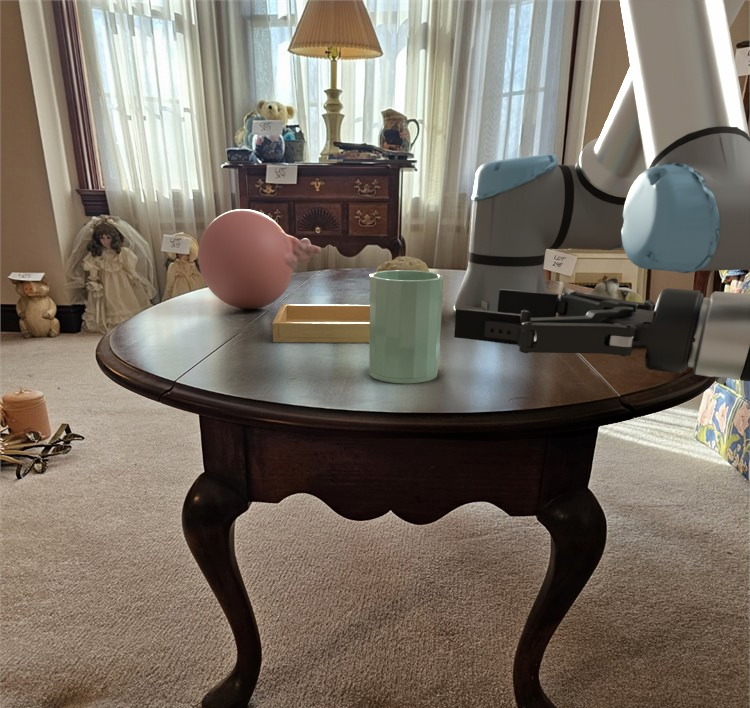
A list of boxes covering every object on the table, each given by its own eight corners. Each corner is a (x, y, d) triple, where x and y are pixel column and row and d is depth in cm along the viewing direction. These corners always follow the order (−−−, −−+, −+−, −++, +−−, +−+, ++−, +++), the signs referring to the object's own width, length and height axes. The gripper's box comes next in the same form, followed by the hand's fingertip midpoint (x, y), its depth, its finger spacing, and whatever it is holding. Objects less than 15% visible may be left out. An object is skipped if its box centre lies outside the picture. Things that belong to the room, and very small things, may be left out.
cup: (433, 364, 80) (438, 270, 75) (441, 383, 73) (447, 281, 68) (368, 364, 80) (369, 269, 75) (370, 383, 73) (370, 280, 68)
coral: (437, 306, 114) (439, 260, 110) (386, 308, 111) (387, 261, 108) (419, 297, 122) (421, 254, 118) (371, 299, 119) (372, 255, 116)
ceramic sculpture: (551, 269, 92) (650, 275, 94) (540, 330, 96) (635, 335, 98) (581, 281, 83) (690, 288, 85) (567, 349, 87) (671, 354, 89)
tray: (395, 322, 102) (396, 305, 101) (401, 342, 90) (401, 323, 89) (282, 321, 102) (281, 304, 100) (273, 342, 89) (272, 323, 88)
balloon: (314, 319, 103) (311, 213, 96) (190, 316, 104) (178, 211, 97) (328, 302, 117) (326, 208, 110) (219, 299, 118) (210, 206, 111)
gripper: (676, 410, 52) (431, 374, 61) (697, 346, 72) (510, 325, 81) (697, 314, 49) (435, 290, 58) (713, 275, 69) (517, 261, 77)
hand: (479, 311), depth 69 cm, fingers open, 13 cm apart
